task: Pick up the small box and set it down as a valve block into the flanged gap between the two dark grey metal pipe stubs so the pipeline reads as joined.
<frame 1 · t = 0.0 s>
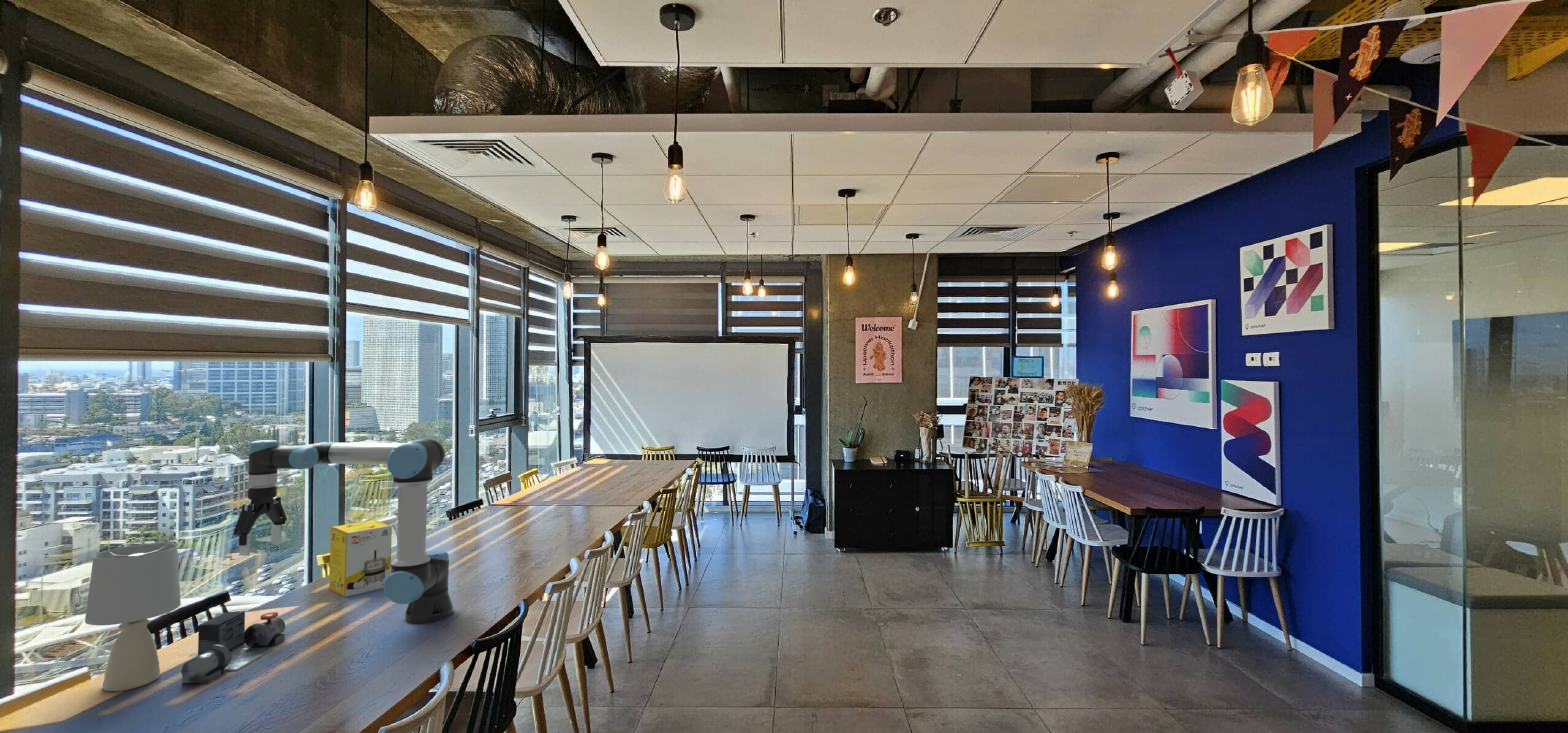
hand: (260, 549, 209), 28 cm above the table, fingers open, 13 cm apart
small box: (221, 651, 194), on the table
lamp: (132, 683, 174), on the table
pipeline: (237, 660, 188), on the table
packaging box: (359, 588, 254), on the table
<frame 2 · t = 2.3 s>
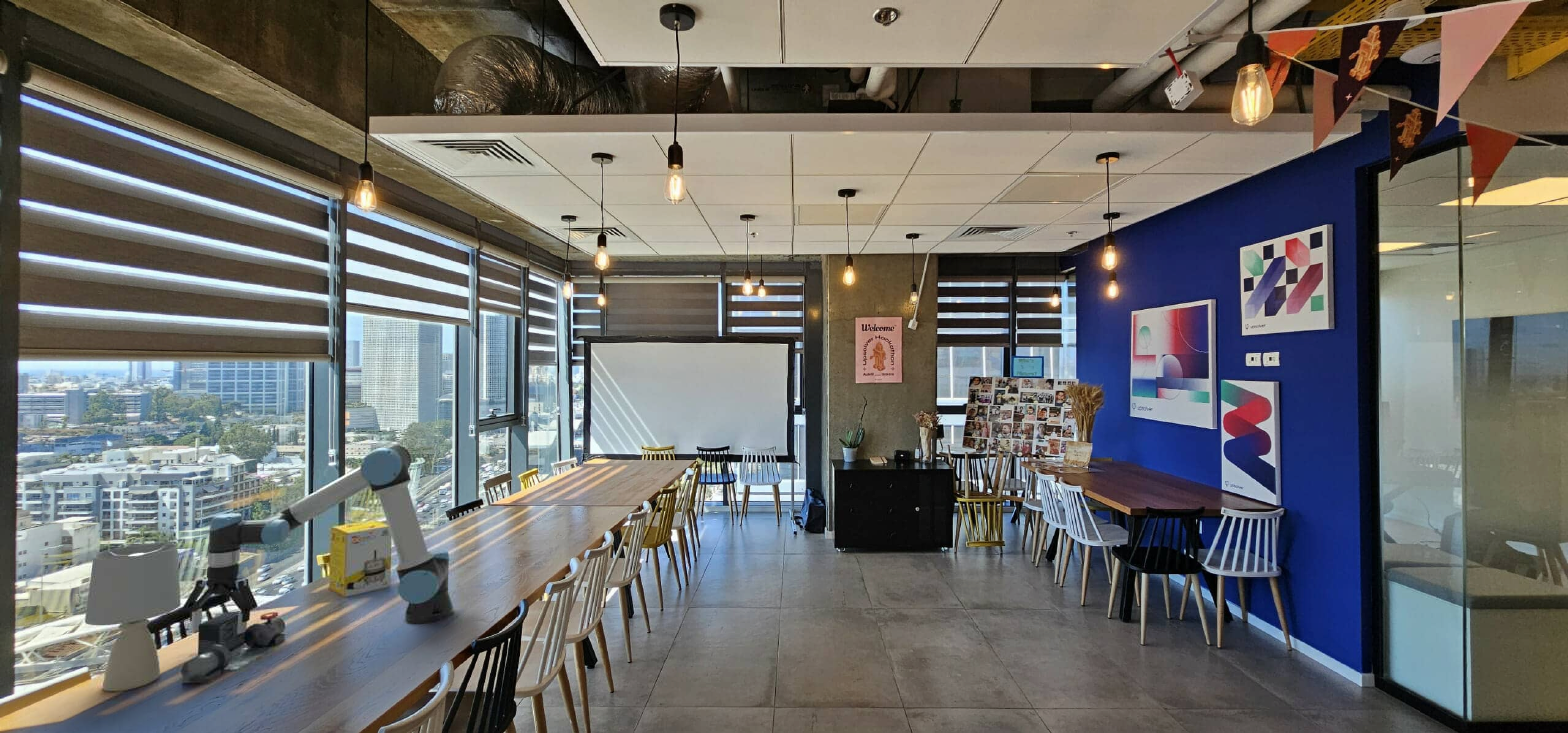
hand: (218, 632, 194), 6 cm above the table, fingers open, 13 cm apart
nothing on the table moved.
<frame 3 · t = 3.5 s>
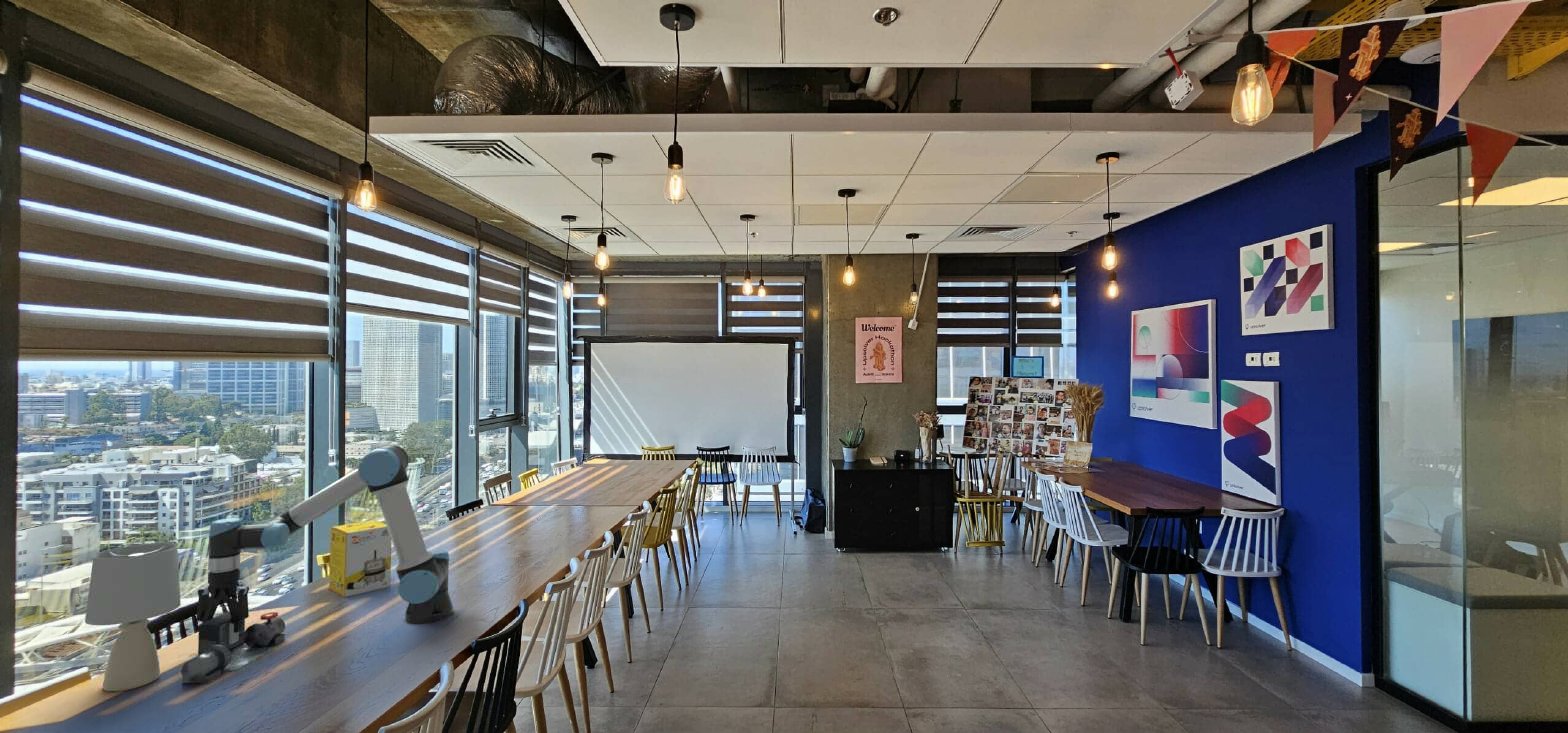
hand: (221, 642, 195), 3 cm above the table, fingers closed on small box, 6 cm apart
small box: (221, 651, 194), on the table, touching gripper
everything else where it was.
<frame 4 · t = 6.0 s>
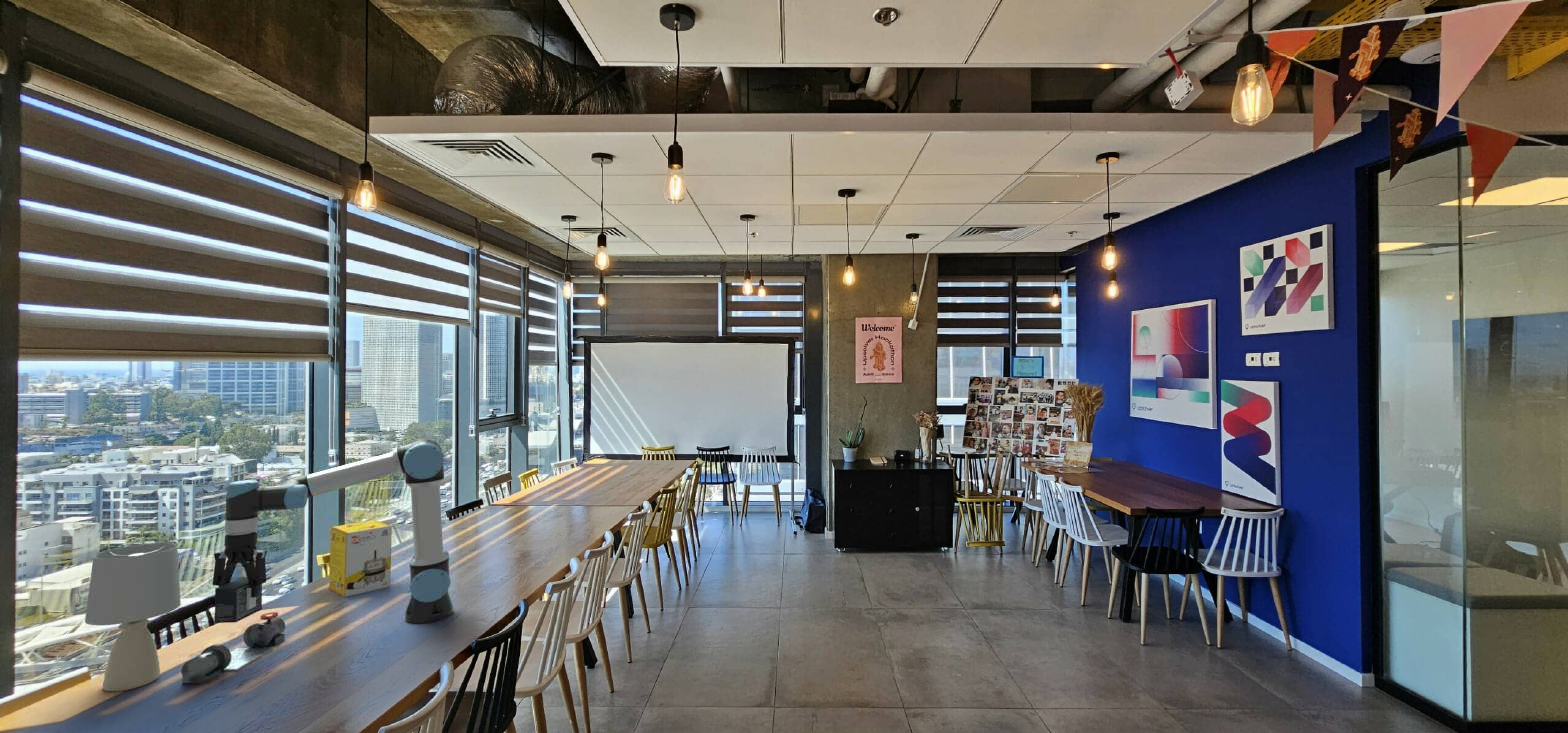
hand: (238, 607, 189), 16 cm above the table, fingers closed on small box, 6 cm apart
small box: (238, 617, 188), point 13 cm above the table, touching gripper
everything else where it was.
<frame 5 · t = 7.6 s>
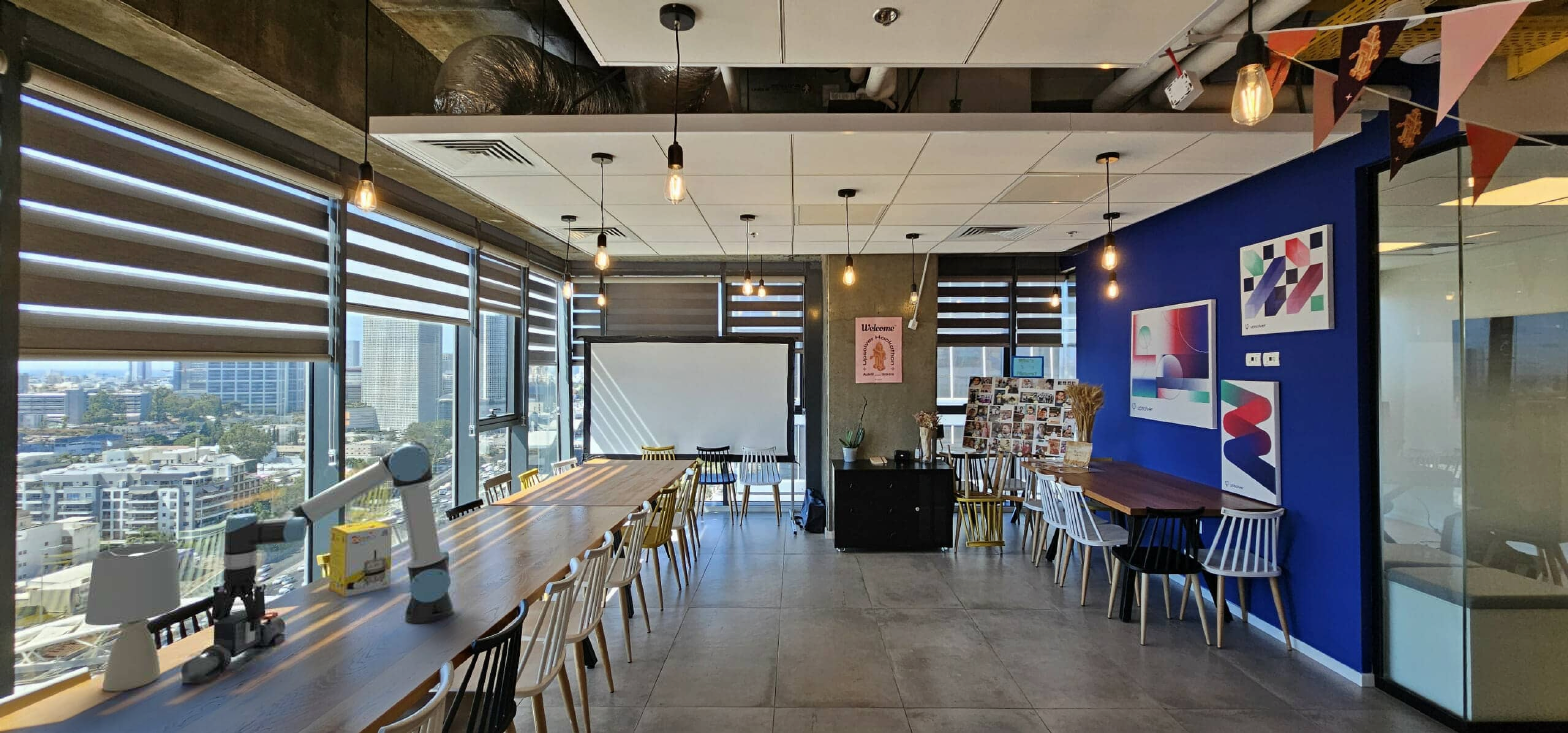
hand: (237, 641, 188), 6 cm above the table, fingers closed on small box, 6 cm apart
small box: (237, 650, 188), point 3 cm above the table, touching gripper
everything else where it was.
when the fingers open (4 cm above the table, at t = 8.7 s): small box drops 1 cm, resting on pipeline.
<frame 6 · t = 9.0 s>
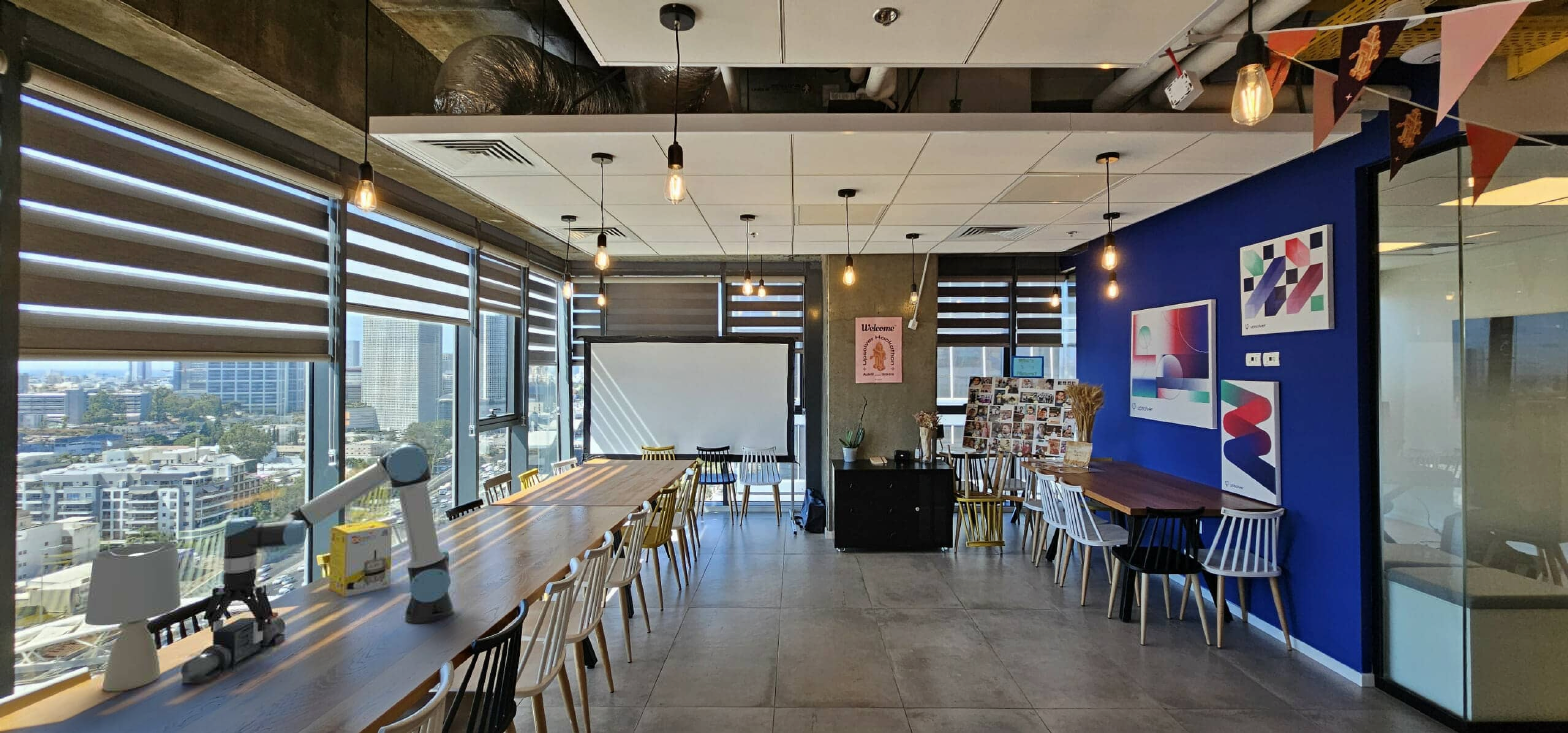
hand: (237, 642, 188), 5 cm above the table, fingers open, 11 cm apart
small box: (236, 659, 188), resting on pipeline
everything else where it was.
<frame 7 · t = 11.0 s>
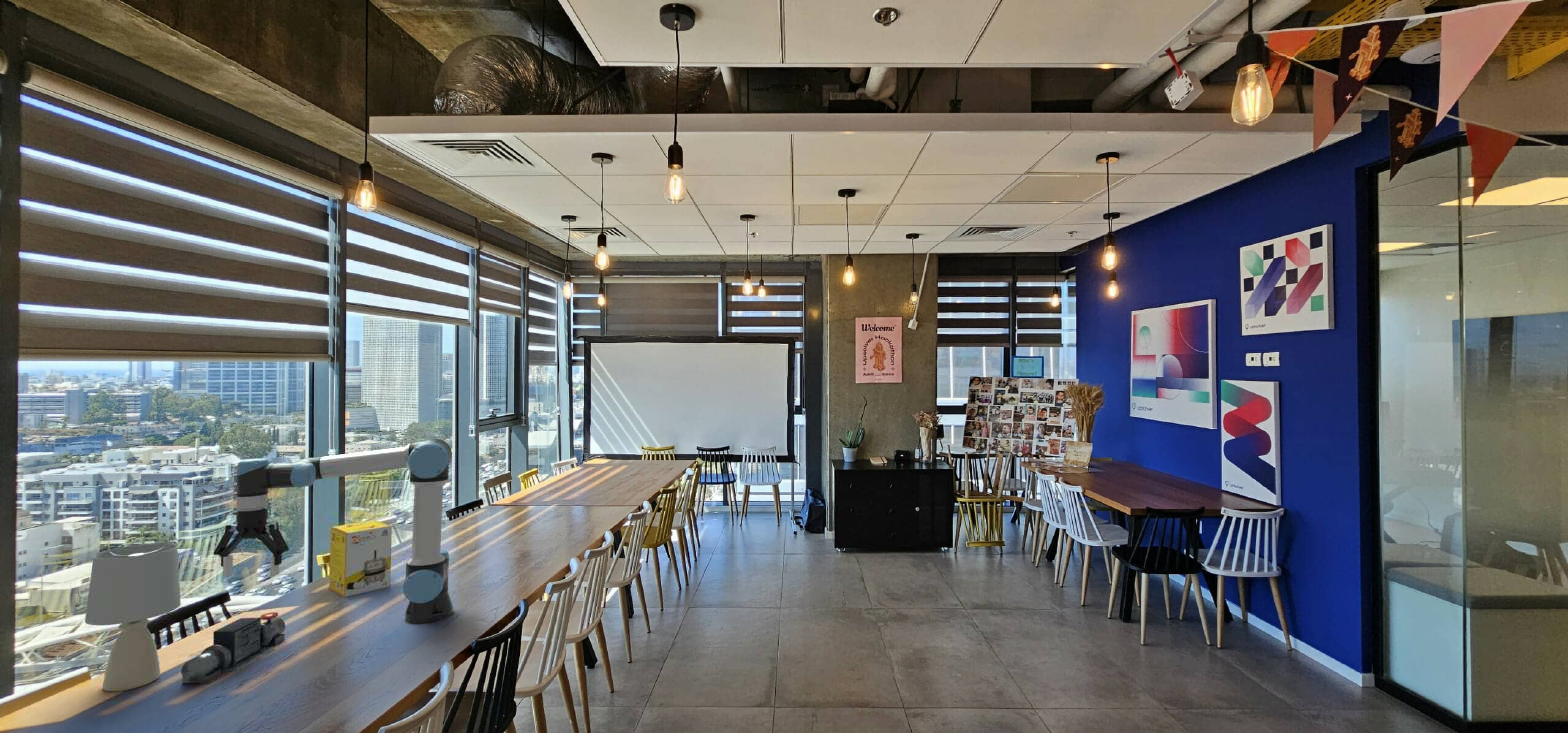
hand: (251, 576, 195), 24 cm above the table, fingers open, 13 cm apart
nothing on the table moved.
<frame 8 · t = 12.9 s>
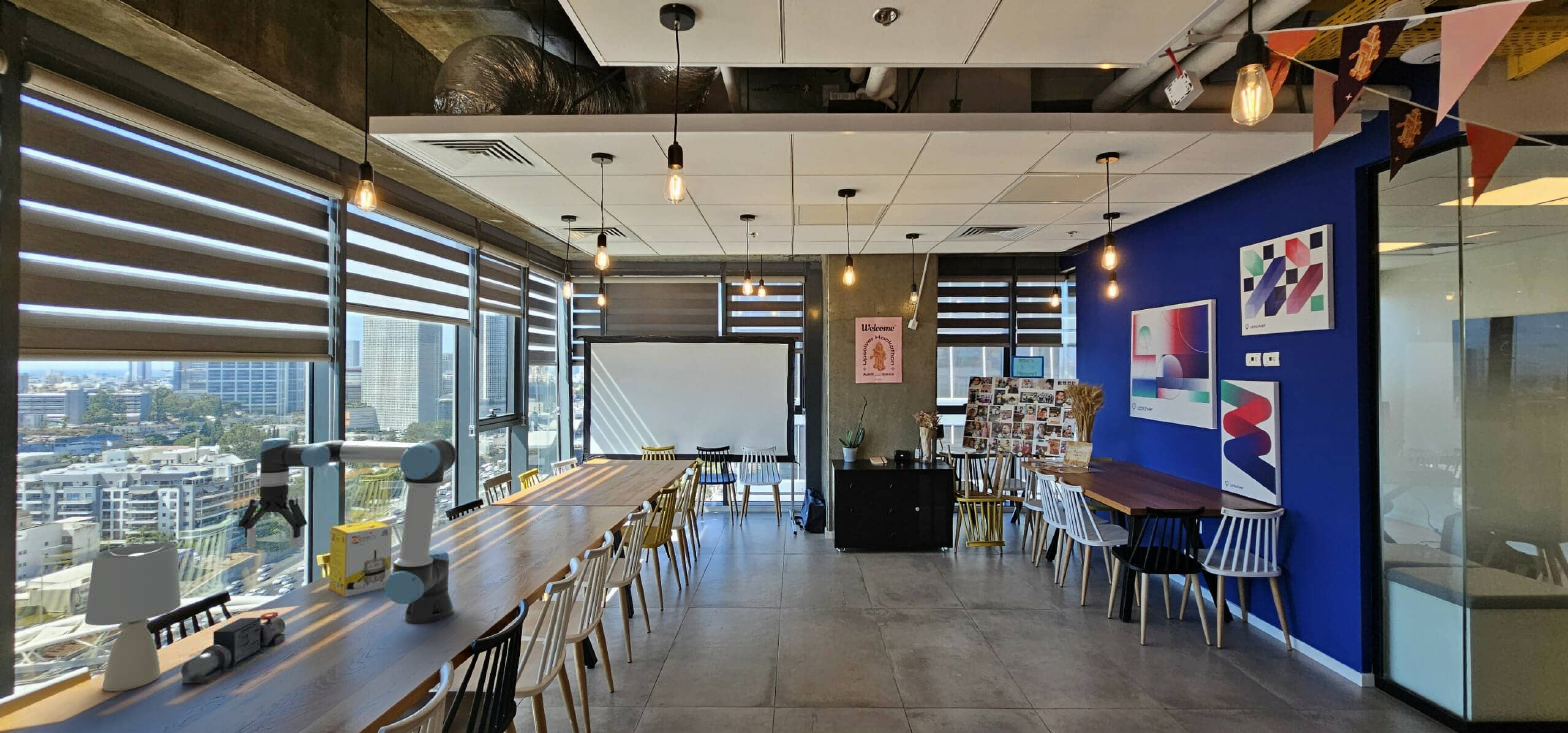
hand: (272, 547, 208), 29 cm above the table, fingers open, 13 cm apart
nothing on the table moved.
at the end: small box inside the target area on the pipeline (0.1 cm from its centre), point 0.4 cm above the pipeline's base; small box tilted 0°; the gripper is holding nothing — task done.
